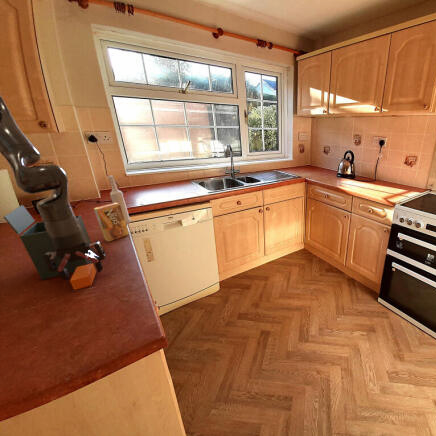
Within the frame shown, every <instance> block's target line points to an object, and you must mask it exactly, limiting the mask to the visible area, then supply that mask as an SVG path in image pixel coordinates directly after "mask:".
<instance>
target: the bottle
mask: <svg viewBox="0 0 436 436" xmlns="http://www.w3.org/2000/svg"><path fill="white" fill-rule="evenodd" d="M107 177H108V181H109V183H110V186H111V191H110V193H109V196H110V199H111V201H112V204H113V203H118V204H120V206H121V210H122V213H123V216H124V219H125V222H126V225H129V224H131V223H132V220H131V218H130V215H129V211H128V208H127V205H126V200H125V198H124V193H123V192H122V191H121V190H119V188H117V187H118V186H117V184H116V181H115V178H114V175H108V176H107Z"/></svg>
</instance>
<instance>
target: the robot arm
mask: <svg viewBox="0 0 436 436" xmlns="http://www.w3.org/2000/svg"><path fill="white" fill-rule="evenodd" d="M0 155H1V156H2V157H3V158H4V160H5V161H6V163H7V164H8V167H9V168H10V170H11V173H12V177H13V179H14V180H13V181H14V182H15V186H17V188H18V189H19V190H21V191H22V192H24V193H26V194H30V195H33V194H40V193H43V192H49V191H51V193H50V195H48V197H46V198H44V199H41V200H40V201H38V202H37V203H36V208H37V210H38V212H39V215H40V217H41V219H42V222H43V221H44V224H45V228H46V230H47V234H48V235H49V237H50V239H51V241H52V243H53V245H54V247H55V249H56V252H47V253H46V254H45V255H44V259H45V262H46V264H47V267H48V269H49V271H50V272H53V271H58V272H59V273H60V277H61V279H62V280H65V281H70V280H71V275H70V273H68V270H67V268H65V265H66V263H67V261H69V262H74V261H76V260H82V259H84V258H85V259H87V260H91V261H92V263H94V267H95V269H96V272H97V273H101V272H102V270H103V269H104V265H103V263H102V260H105V259H106V256H107V254H106V252H105V250H104V247H103V245H102V244H101V243H102V242H100V241H99V240H96V241H95V242H93V243H92V244H88V243H87V242H86V239H85V237H84V234H83V232H82V229H81V227H80V224H79V222H78V220H77V218H76V217H75V216H76V215H75V213H74V209H73V208H72V205H71V203H70V197H69V180H68V175H67V173H66V171H65V170H64V169H63V168H62V167H61V166H59V165H58V164H54V163H53V164H52V163H49V164H41V165H36V164H38V163H39V162H40V161H41V158H42V156H41V153H40V151H39V150H38V149H37V148H36V147H35V146H34V144H33V143H32V142H31V140H30V139H29V138H28V137H27V136H26V134H25V133H24V132H23V131H22V129H21V128H20V127H19V125H18V123H17V122H16V121H15V118H14V116H13V115H12V113H11V111H10V109H9V108H8V106H7V104H6V103H5V101H4V99H3V97H2V95H1V94H0ZM90 248H93V249H94V251H95V252H96V253H97V254H98V255H97V254H96V253H95V254H94V253H93V252H91V251H89V249H90ZM55 256H58V257H60V258H62V259H63V260H62V262H61V264H60V265H56V263H55V261H54V258H55Z"/></svg>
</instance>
